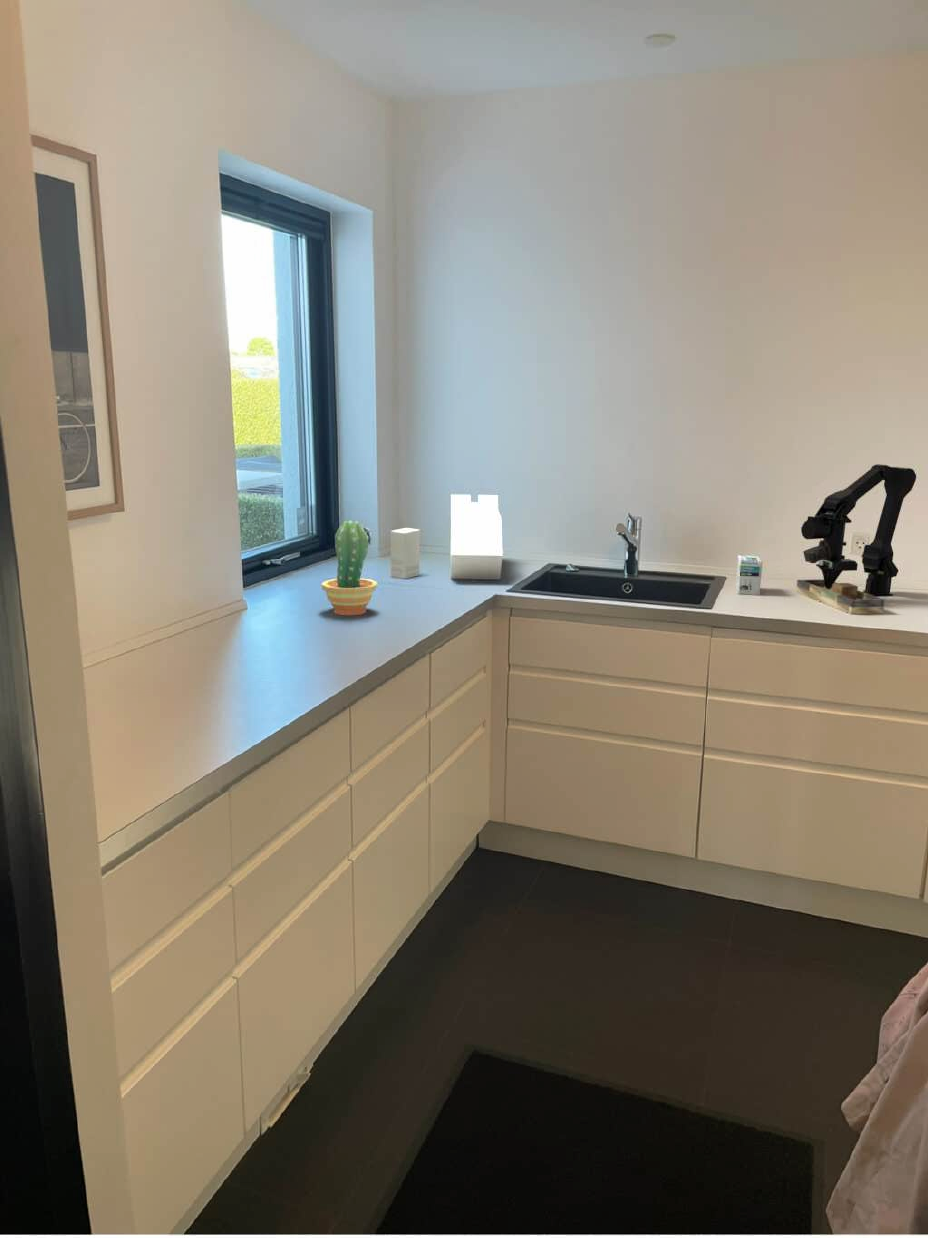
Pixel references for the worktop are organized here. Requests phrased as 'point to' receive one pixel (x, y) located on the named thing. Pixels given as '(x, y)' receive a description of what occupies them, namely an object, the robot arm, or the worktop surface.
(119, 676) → the worktop surface
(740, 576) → the light bulb box
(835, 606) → the box
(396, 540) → the skincare box
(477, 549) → the storage box
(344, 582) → the potted cactus
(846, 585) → the walnut block
